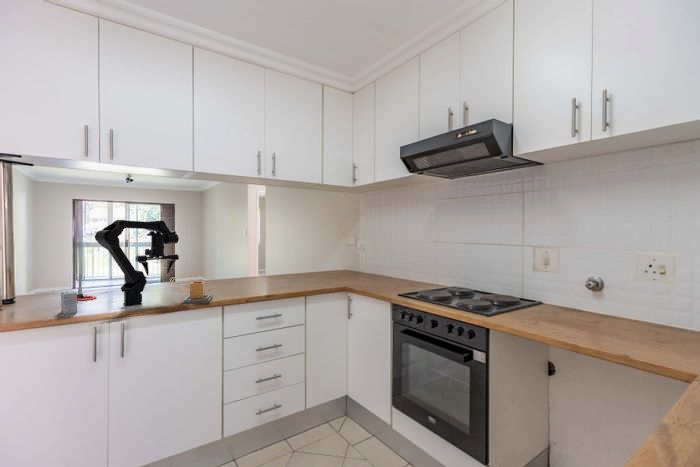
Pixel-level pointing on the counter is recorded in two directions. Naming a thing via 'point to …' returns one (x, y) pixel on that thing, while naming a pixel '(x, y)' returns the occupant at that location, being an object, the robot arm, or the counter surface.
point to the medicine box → (69, 302)
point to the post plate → (197, 300)
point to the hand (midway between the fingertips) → (157, 274)
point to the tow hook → (80, 295)
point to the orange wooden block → (197, 290)
